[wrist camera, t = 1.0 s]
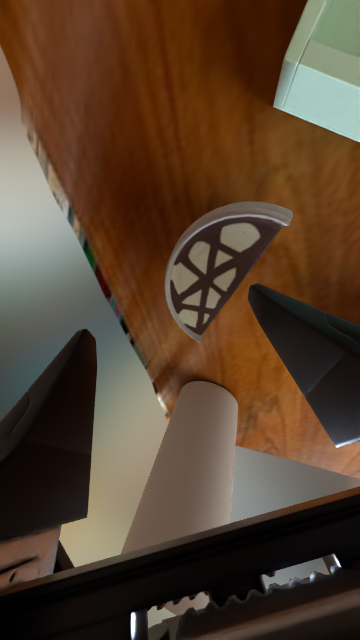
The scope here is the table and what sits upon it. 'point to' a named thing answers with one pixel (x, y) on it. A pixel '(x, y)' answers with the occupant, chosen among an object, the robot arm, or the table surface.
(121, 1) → the table surface
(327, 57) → the light green open box
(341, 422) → the robot arm
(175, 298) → the food container
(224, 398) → the cylinder vase
